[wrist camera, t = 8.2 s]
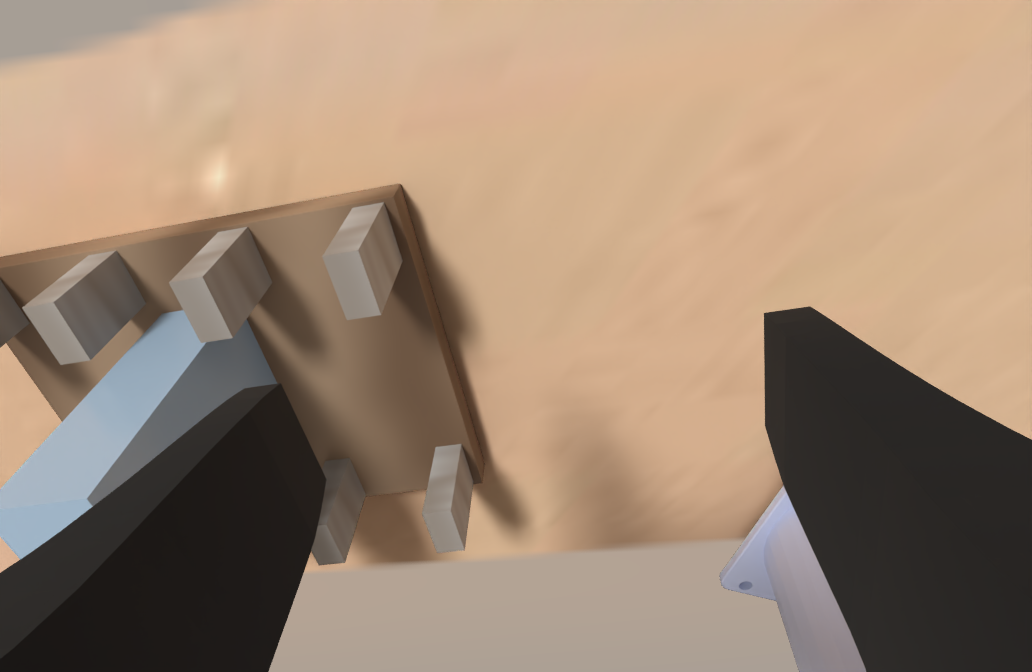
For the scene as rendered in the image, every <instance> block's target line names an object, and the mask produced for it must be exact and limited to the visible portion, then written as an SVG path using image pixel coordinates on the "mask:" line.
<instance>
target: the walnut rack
mask: <svg viewBox="0 0 1032 672" xmlns="http://www.w3.org/2000/svg"><path fill="white" fill-rule="evenodd" d="M181 310H184V312H185V314H186V316H187V318H188V320H189V322H190V323H191V325H192V327H193V329H194V331H195V333H196V335H197V337H198V339H199V340H200V342H201V343H205V342H211V341H217V340H224V339H230V338H233V337H234V336H235V335H236V333H237V332H238V330H239V329H240V327H241V326H242V325H243V323H244V322H245V320H246V319H247V321H248V323H249V325H250V327H251V329H252V332H253V334H254V336H255V338H256V340H257V342H258V344H259V346H260V348H261V350H262V352H263V355H264V357H265V359H266V361H267V363H268V365H269V367H270V369H271V371H272V373H273V375H274V377H275V380H276V382H277V384H278V383H281V384H282V387H283V389H284V391H285V393H286V395H287V397H288V399H289V401H290V403H291V405H292V408H293V410H294V412H295V414H296V416H297V418H298V420H299V422H300V424H301V427H302V429H303V431H304V433H305V435H306V437H307V439H308V441H309V443H310V445H311V448H312V450H313V452H314V454H315V456H316V458H317V460H318V462H319V464H320V467H321V469H322V471H323V473H324V475H325V477H326V479H327V480H326V486H325V491H324V497H323V503H322V508H321V513H320V518H319V522H318V527H317V532H316V536H315V540H314V543H313V546H312V549H311V551H312V553H313V555H314V557H315V559H316V561H317V562H318V564H319V565H327V564H337V563H345V561H346V558H347V555H348V552H349V548H350V545H351V542H352V538H353V535H354V532H355V529H356V525H357V522H358V519H359V515H360V512H361V509H362V506H363V502H364V499H365V497H367V496H376V495H384V494H393V493H401V492H410V491H418V490H427V492H426V497H425V502H424V507H423V511H422V515H423V518H424V520H425V523H426V525H427V528H428V531H429V533H430V536H431V538H432V541H433V543H434V546H435V549H436V551H437V553H443V552H452V551H462V550H465V544H466V536H467V528H468V521H469V513H470V505H471V497H472V490H473V484H478V483H482V482H483V473H484V465H485V463H484V459H483V456H482V453H481V450H480V446H479V443H478V440H477V436H476V433H475V430H474V426H473V423H472V420H471V416H470V413H469V410H468V407H467V403H466V400H465V397H464V393H463V390H462V387H461V383H460V380H459V377H458V373H457V370H456V367H455V364H454V360H453V357H452V354H451V350H450V347H449V344H448V340H447V337H446V334H445V330H444V327H443V324H442V321H441V317H440V314H439V311H438V307H437V304H436V301H435V297H434V294H433V291H432V287H431V284H430V281H429V278H428V274H427V271H426V268H425V264H424V261H423V258H422V254H421V251H420V248H419V244H418V241H417V238H416V235H415V231H414V228H413V225H412V221H411V218H410V215H409V211H408V208H407V205H406V201H405V198H404V195H403V192H402V188H401V185H400V184H396V185H390V186H385V187H380V188H374V189H369V190H363V191H358V192H352V193H347V194H341V195H336V196H331V197H325V198H320V199H314V200H309V201H303V202H298V203H292V204H287V205H281V206H276V207H271V208H265V209H260V210H254V211H249V212H243V213H238V214H232V215H227V216H222V217H216V218H211V219H205V220H200V221H194V222H189V223H183V224H178V225H173V226H167V227H162V228H156V229H151V230H145V231H140V232H134V233H129V234H124V235H118V236H113V237H107V238H102V239H96V240H91V241H85V242H80V243H75V244H69V245H64V246H58V247H53V248H47V249H42V250H36V251H31V252H26V253H20V254H15V255H9V256H4V257H0V347H2V346H3V345H4V344H5V343H7V345H8V346H9V348H10V349H11V350H12V352H13V353H14V355H15V356H16V357H17V359H18V360H19V362H20V363H21V365H22V366H23V367H24V369H25V370H26V372H27V373H28V374H29V376H30V377H31V379H32V380H33V381H34V383H35V384H36V386H37V387H38V388H39V390H40V391H41V393H42V394H43V395H44V397H45V398H46V400H47V401H48V402H49V404H50V405H51V407H52V408H53V409H54V411H55V412H56V414H57V415H58V417H59V418H60V419H61V421H62V422H63V421H64V419H65V418H66V417H67V416H68V415H69V414H70V413H71V412H72V411H73V410H74V409H75V408H76V406H77V405H78V404H79V403H80V402H81V401H82V400H83V399H84V398H85V397H86V396H87V395H88V393H89V392H90V391H91V390H92V389H93V388H94V387H95V386H96V385H97V384H98V383H99V382H100V380H101V379H102V378H103V377H104V376H105V375H106V374H107V373H108V372H109V371H110V370H111V369H112V367H113V366H114V365H115V364H116V363H117V362H118V361H119V360H120V359H121V358H122V357H123V356H124V354H125V353H126V352H127V351H128V350H129V349H130V348H131V347H132V346H133V345H134V344H135V342H136V341H137V340H138V339H139V338H140V337H141V336H142V335H143V334H144V333H145V332H146V331H147V329H148V328H149V327H150V326H151V325H152V324H153V323H154V322H155V321H156V320H157V319H158V318H159V316H160V315H161V314H163V313H169V312H175V311H181Z"/></svg>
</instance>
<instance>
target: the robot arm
mask: <svg viewBox="0 0 1032 672" xmlns="http://www.w3.org/2000/svg"><path fill="white" fill-rule="evenodd" d="M764 355H765V427H766V430H767V434H768V437H769V440H770V444H771V447H772V450H773V454H774V457H775V460H776V463H777V466H778V469H779V473H780V476H781V479H782V482H783V487H782V488H781V489H780V491H779V492H778V494H777V495H776V496H775V498H774V499H773V501H772V502H771V503H770V505H769V506H768V508H767V509H766V510H765V512H764V513H763V515H762V516H761V517H760V519H759V520H758V522H757V523H756V524H755V526H754V527H753V528H752V530H751V531H750V533H749V534H748V535H747V537H746V538H745V540H744V541H743V542H742V544H741V545H740V547H739V548H738V549H737V551H736V552H735V554H734V555H733V557H732V558H731V559H730V561H729V562H728V564H727V565H726V566H725V567H724V569H723V570H722V572H721V573H720V580H721V585H722V586H723V587H724V588H726V589H728V590H732V591H736V592H740V593H745V594H749V595H753V596H757V597H762V598H766V599H771V600H774V601H777V604H778V607H779V610H780V614H781V617H782V620H783V623H784V626H785V629H786V632H787V635H788V638H789V642H790V645H791V648H792V651H793V654H794V657H795V660H796V663H797V667H798V670H799V672H1032V440H1031V439H1029V438H1027V437H1025V436H1023V435H1021V434H1019V433H1017V432H1015V431H1013V430H1011V429H1009V428H1007V427H1006V426H1004V425H1002V424H1000V423H998V422H996V421H995V420H993V419H991V418H989V417H987V416H985V415H984V414H982V413H980V412H978V411H976V410H974V409H973V408H971V407H969V406H967V405H965V404H964V403H962V402H960V401H958V400H956V399H955V398H953V397H951V396H950V395H948V394H946V393H944V392H943V391H941V390H939V389H938V388H936V387H934V386H932V385H931V384H929V383H928V382H926V381H924V380H923V379H921V378H919V377H918V376H916V375H914V374H913V373H911V372H910V371H908V370H906V369H905V368H903V367H902V366H900V365H898V364H897V363H895V362H894V361H892V360H891V359H889V358H888V357H886V356H884V355H883V354H881V353H880V352H878V351H877V350H875V349H874V348H872V347H871V346H869V345H868V344H866V343H865V342H863V341H862V340H860V339H859V338H857V337H856V336H854V335H853V334H851V333H850V332H848V331H847V330H845V329H844V328H842V327H841V326H839V325H838V324H836V323H835V322H833V321H832V320H830V319H829V318H827V317H826V316H824V315H823V314H821V313H820V312H818V311H816V310H815V309H813V308H812V307H803V308H796V309H790V310H783V311H776V312H769V313H764ZM326 480H327V479H326V477H325V475H324V473H323V471H322V469H321V467H320V464H319V462H318V460H317V458H316V456H315V454H314V452H313V450H312V448H311V445H310V443H309V441H308V439H307V437H306V435H305V433H304V431H303V429H302V427H301V424H300V422H299V420H298V418H297V416H296V414H295V412H294V410H293V408H292V405H291V403H290V401H289V399H288V397H287V395H286V393H285V391H284V389H283V387H282V384H281V383H278V384H271V385H264V386H257V387H250V388H244V389H243V390H241V391H240V392H238V393H237V394H235V395H233V396H232V397H231V398H229V399H228V400H226V401H225V402H224V403H222V404H221V405H220V406H218V407H217V408H216V409H214V410H213V411H212V412H211V413H209V414H208V415H207V416H205V417H204V418H203V419H202V420H200V421H199V422H198V423H197V424H195V425H194V426H193V427H192V428H191V429H189V430H188V431H187V432H186V433H184V434H183V435H182V436H181V437H179V438H178V439H177V440H176V441H175V442H173V443H172V444H171V445H170V446H168V447H167V448H166V449H165V450H164V451H162V452H161V453H160V454H159V455H157V456H156V457H155V458H154V459H152V460H151V461H150V462H149V463H148V464H146V465H145V466H144V467H143V468H141V469H140V470H139V471H138V472H136V473H135V474H134V475H133V476H132V477H130V478H129V479H128V480H127V481H125V482H124V483H123V484H121V485H120V486H119V487H117V488H116V489H115V490H114V491H112V492H111V493H110V494H108V495H107V496H106V497H104V498H103V499H102V500H101V501H99V502H98V503H97V504H95V505H94V506H93V507H91V508H90V509H89V510H87V511H86V512H85V513H84V514H82V515H81V516H80V517H78V518H77V519H76V520H74V521H73V522H72V523H71V524H69V525H68V526H67V527H65V528H64V529H63V530H61V531H60V532H59V533H57V534H56V535H54V536H53V537H52V538H50V539H49V540H48V541H46V542H45V543H43V544H42V545H41V546H39V547H38V548H36V549H35V550H33V551H32V552H31V553H29V554H28V555H26V556H25V557H23V558H22V559H21V560H19V561H18V562H16V563H15V564H13V565H12V566H10V567H9V568H7V569H6V570H4V571H3V572H1V573H0V672H268V671H269V668H270V665H271V662H272V660H273V657H274V654H275V651H276V649H277V646H278V643H279V640H280V637H281V634H282V632H283V629H284V626H285V623H286V621H287V618H288V615H289V612H290V609H291V607H292V604H293V601H294V598H295V595H296V592H297V590H298V587H299V584H300V581H301V578H302V575H303V573H304V570H305V567H306V564H307V561H308V558H309V555H310V552H311V549H312V546H313V543H314V540H315V536H316V532H317V527H318V522H319V518H320V513H321V508H322V503H323V497H324V491H325V486H326Z"/></svg>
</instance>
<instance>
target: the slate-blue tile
mask: <svg viewBox="0 0 1032 672" xmlns="http://www.w3.org/2000/svg"><path fill="white" fill-rule="evenodd" d="M271 384H277V382H276V380H275V377H274V375H273V373H272V371H271V369H270V367H269V365H268V363H267V361H266V359H265V357H264V355H263V352H262V350H261V348H260V346H259V344H258V342H257V340H256V338H255V336H254V334H253V332H252V329H251V327H250V325H249V323H248V321H247V319H246V320H245V322H244V323H243V325H242V326H241V327H240V329H239V330H238V332H237V333H236V335H235V336H234V337H233V338H230V339H224V340H217V341H211V342H205V343H201V342H200V340H199V339H198V337H197V335H196V333H195V331H194V329H193V327H192V325H191V323H190V322H189V320H188V318H187V316H186V314H185V312H184V310H181V311H175V312H169V313H163V314H161V315H160V316H159V318H158V319H157V320H156V321H155V322H154V323H153V324H152V325H151V326H150V327H149V328H148V329H147V331H146V332H145V333H144V334H143V335H142V336H141V337H140V338H139V339H138V340H137V341H136V342H135V344H134V345H133V346H132V347H131V348H130V349H129V350H128V351H127V352H126V353H125V354H124V356H123V357H122V358H121V359H120V360H119V361H118V362H117V363H116V364H115V365H114V366H113V367H112V369H111V370H110V371H109V372H108V373H107V374H106V375H105V376H104V377H103V378H102V379H101V380H100V382H99V383H98V384H97V385H96V386H95V387H94V388H93V389H92V390H91V391H90V392H89V393H88V395H87V396H86V397H85V398H84V399H83V400H82V401H81V402H80V403H79V404H78V405H77V406H76V408H75V409H74V410H73V411H72V412H71V413H70V414H69V415H68V416H67V417H66V418H65V419H64V421H63V422H62V423H61V424H60V425H59V426H58V427H57V428H56V429H55V430H54V431H53V432H52V434H51V435H50V436H49V437H48V438H47V439H46V440H45V441H44V442H43V443H42V444H41V445H40V447H39V448H38V449H37V450H36V451H35V452H34V453H33V454H32V455H31V456H30V457H29V458H28V460H27V461H26V462H25V463H24V464H23V465H22V466H21V467H20V468H19V469H18V470H17V472H16V473H15V474H14V475H13V476H12V477H11V478H10V479H9V480H8V481H7V482H6V483H5V485H4V486H3V487H2V488H1V489H0V537H1V538H2V539H3V540H4V541H5V543H6V544H7V545H8V546H9V547H10V548H11V549H12V551H13V552H14V553H15V554H16V555H17V556H18V557H19V559H20V560H21V559H22V558H23V557H25V556H26V555H28V554H29V553H31V552H32V551H33V550H35V549H36V548H38V547H39V546H41V545H42V544H43V543H45V542H46V541H48V540H49V539H50V538H52V537H53V536H54V535H56V534H57V533H59V532H60V531H61V530H63V529H64V528H65V527H67V526H68V525H69V524H71V523H72V522H73V521H74V520H76V519H77V518H78V517H80V516H81V515H82V514H84V513H85V512H86V511H87V510H89V509H90V508H91V507H93V506H94V505H95V504H97V503H98V502H99V501H101V500H102V499H103V498H104V497H106V496H107V495H108V494H110V493H111V492H112V491H114V490H115V489H116V488H117V487H119V486H120V485H121V484H123V483H124V482H125V481H127V480H128V479H129V478H130V477H132V476H133V475H134V474H135V473H136V472H138V471H139V470H140V469H141V468H143V467H144V466H145V465H146V464H148V463H149V462H150V461H151V460H152V459H154V458H155V457H156V456H157V455H159V454H160V453H161V452H162V451H164V450H165V449H166V448H167V447H168V446H170V445H171V444H172V443H173V442H175V441H176V440H177V439H178V438H179V437H181V436H182V435H183V434H184V433H186V432H187V431H188V430H189V429H191V428H192V427H193V426H194V425H195V424H197V423H198V422H199V421H200V420H202V419H203V418H204V417H205V416H207V415H208V414H209V413H211V412H212V411H213V410H214V409H216V408H217V407H218V406H220V405H221V404H222V403H224V402H225V401H226V400H228V399H229V398H231V397H232V396H233V395H235V394H237V393H238V392H240V391H241V390H243V389H244V388H250V387H257V386H264V385H271Z"/></svg>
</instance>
